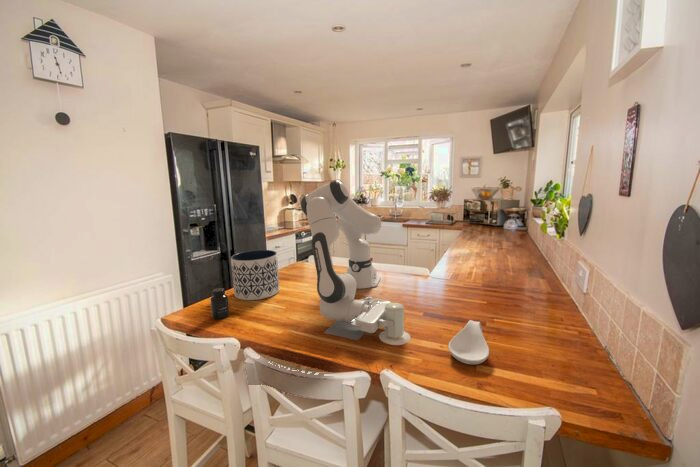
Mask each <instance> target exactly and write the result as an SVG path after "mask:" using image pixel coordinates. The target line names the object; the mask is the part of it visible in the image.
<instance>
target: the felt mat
mask: <svg viewBox="0 0 700 467" xmlns="http://www.w3.org/2000/svg"><path fill="white" fill-rule="evenodd" d="M365 333H366V332H364V331H361V330H358V329H357V328H356V327H353V326H352V325H351V323H348V322H346V321H336V320H335V321H334V323H333V324H331V325H330V326H329V327H328V328H327V329H326V330H325V331H324V332H323V334H328V335H333V336H335V337H342V338H346V339H350V340H356V341H359V340H360V339H361V338H362V336H364V334H365Z"/></svg>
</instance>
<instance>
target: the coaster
mask: <svg viewBox="0 0 700 467" xmlns="http://www.w3.org/2000/svg"><path fill="white" fill-rule="evenodd" d="M378 337H379V340H380V341H381V342H383V343H384V344H388V345H392V346H400V345H401V346H402V345H404V344H407V343H409V342H410V341H411V338H412V337H411V334H410V333H408V332H407V331H405V330H404V334H403V336H402V337H397V338H394V337H389V336H387V335H386V334H385V330H383V331H381V332H380V333H379V335H378Z"/></svg>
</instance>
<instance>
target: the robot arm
mask: <svg viewBox="0 0 700 467" xmlns="http://www.w3.org/2000/svg"><path fill="white" fill-rule="evenodd" d="M300 208H301V210H302V212H303V214H304V215H305V216H306V217H307V222H308V226H309V228H310V233H311V238H312V239H311V249H312V254H313V260H314V265H315V271H316V276H317V277H316V278H317V279H316V280H317V281H316V290H317V292H316V293H317V294H318V297H319V298H320V301H319V311H320V314H321V315H322V316H323V317H324V318H327V319H328V320H333V321H335V322H336V321H346V322H348V323H351V325H352V326H353V327H356V328H357V329H358V330H361V331H364V332H365V333H369V334H373V333H376V331H377V330H379V328H380V327H381V328H385V326H391V327H392V326H393V325H394V320H390V319H389V320H385V305H386V304H388V303H392V302H391V301H389V300H386V299H381V298H373V297H372V296H367V297H365V298H360V299H355V298H356V293H357V289H359V290H360V289H368V288H376V287H378V285H379V284H380V281H381V276H379V275H377V268H376V267H374V266H373V264H372V263H373V262H372V261H374V260H373V259H374V258H373V257H372V256H371V246H370V243H369V242H368V241H367V240H366V239H365V238H364V236H363V235H367V236H368V235H375V234H378V233H379V232H380V230H381V228H382V220H381V218H380V216H379V215H378V214H375V213H373V212H370V211H369V210H367V209H365V208H363V207H361V206H360V205H358V204H357V203H356V202H355V201H354V200H353V199H352V198H351V197H350V196H349V191H348V187H347V185H346V184H345V183H344V182H343V181H341V180H338V179H337V180H332V181H330V182H328V183H326V184H322V185H320V186H319V187H317V188H316V189H315V190H312V191H310V192H309V193H307V194H306V195H304V196H303V197H302V199H301V200H300ZM336 217H337V218H336ZM340 231H341V232H342V233H343V235H344V236H345V238H346V242H347V245H348V252H349V253H348V254H349V255H348V257H349V258H348V268H346V272H342V273H341V272H340V273H337V272H336V270H335V267H334V264H333V263H334V262H333V258H332V254H331V246H332V245H333V244H334V243H335V242H336V241H337V240H338V238H339V236H340Z"/></svg>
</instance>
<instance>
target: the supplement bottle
mask: <svg viewBox="0 0 700 467" xmlns="http://www.w3.org/2000/svg"><path fill="white" fill-rule="evenodd" d="M211 293H212V296H211V297H210V299H209V300H210V308H211V310H210V311H211V318H212V319H213V320H224V319H226V318H228V317H229V316H230V307H229V297H228V295H227V294H226V291H225V288H223V287H218V288H214V289H212V291H211Z"/></svg>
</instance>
